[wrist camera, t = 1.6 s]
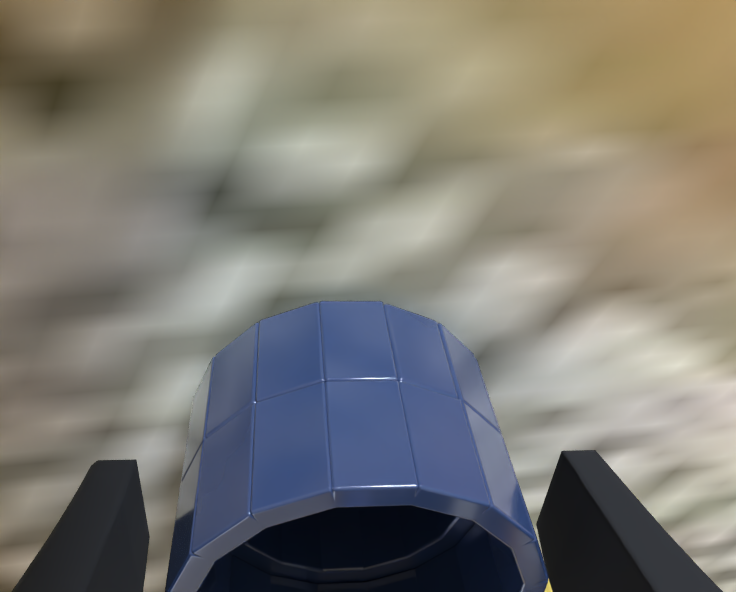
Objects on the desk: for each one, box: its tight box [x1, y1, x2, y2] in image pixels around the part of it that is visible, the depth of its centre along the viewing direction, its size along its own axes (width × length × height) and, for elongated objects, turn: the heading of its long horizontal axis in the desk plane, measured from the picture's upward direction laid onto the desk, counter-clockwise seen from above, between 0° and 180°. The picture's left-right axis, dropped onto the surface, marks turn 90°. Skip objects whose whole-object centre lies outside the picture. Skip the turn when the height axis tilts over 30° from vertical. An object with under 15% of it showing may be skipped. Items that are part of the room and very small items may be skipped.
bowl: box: [165, 301, 549, 592], centre depth 12 cm, size 6×6×4 cm
